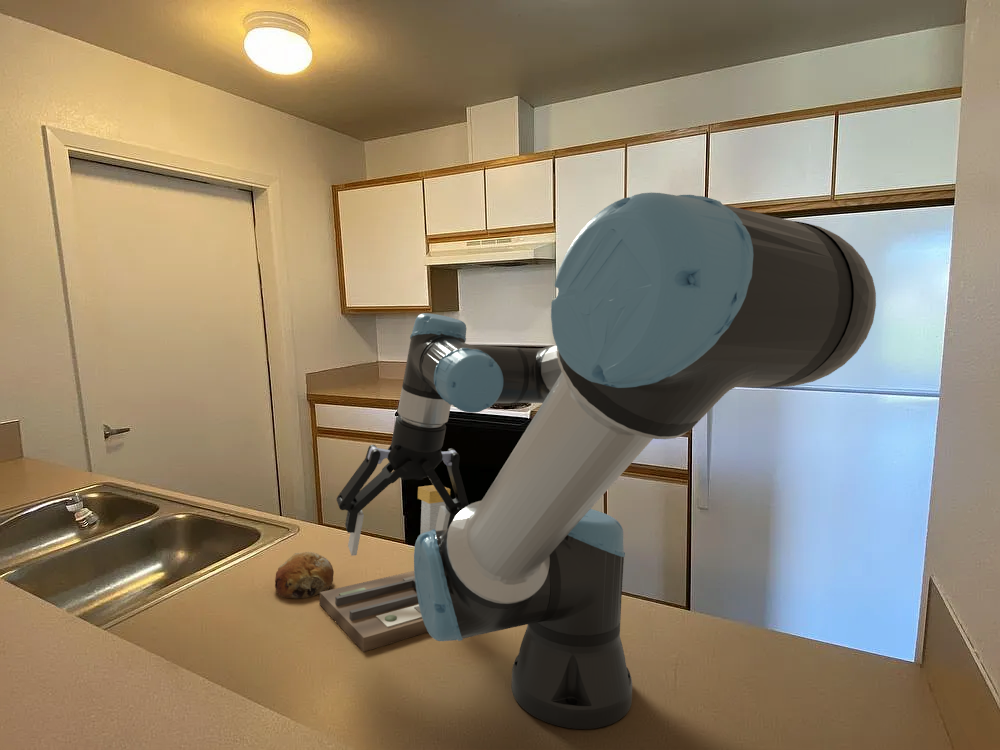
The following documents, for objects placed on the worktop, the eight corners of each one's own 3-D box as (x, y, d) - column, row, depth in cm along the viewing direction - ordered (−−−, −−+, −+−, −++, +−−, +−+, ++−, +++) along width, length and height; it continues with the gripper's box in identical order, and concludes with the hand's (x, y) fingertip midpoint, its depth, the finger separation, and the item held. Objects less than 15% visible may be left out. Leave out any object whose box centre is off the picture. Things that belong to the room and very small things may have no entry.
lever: (449, 588, 93) (452, 488, 93) (423, 595, 90) (427, 492, 90) (437, 580, 97) (440, 484, 96) (412, 586, 94) (415, 487, 93)
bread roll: (337, 602, 100) (345, 556, 103) (316, 600, 91) (326, 550, 94) (285, 598, 101) (295, 553, 104) (259, 595, 92) (271, 546, 95)
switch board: (479, 616, 89) (480, 596, 89) (363, 651, 77) (364, 629, 77) (424, 578, 103) (425, 562, 103) (319, 604, 91) (320, 585, 91)
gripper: (486, 416, 89) (460, 533, 93) (331, 404, 78) (309, 538, 82) (506, 432, 83) (478, 557, 87) (340, 422, 71) (316, 567, 75)
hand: (396, 548), depth 84 cm, fingers open, 13 cm apart
